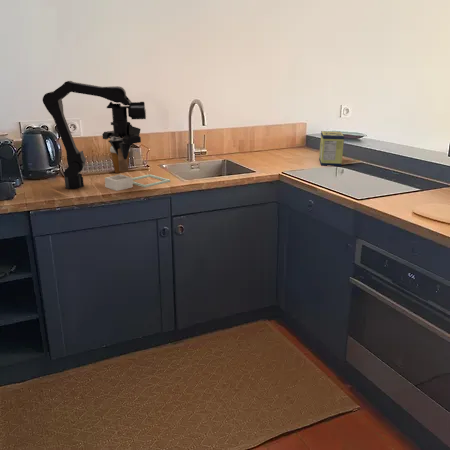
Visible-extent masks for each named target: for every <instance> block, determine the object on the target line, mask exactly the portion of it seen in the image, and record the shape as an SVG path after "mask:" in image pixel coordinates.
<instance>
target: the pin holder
mask: <svg viewBox="0 0 450 450" xmlns="http://www.w3.org/2000/svg"><path fill="white" fill-rule="evenodd" d="M132 178H133V177H131V176H129V175H128V176H127V175H124V174H122V173H119V174H116V175H111V176H107V177H104V186H105V188H107V189H109V190H112V191H116V192H118V191H122V190H123V191H124V190H127V189H131V188H133V185H134V184H133V181H134V180H133V181H132Z"/></svg>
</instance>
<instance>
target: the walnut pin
mask: <svg viewBox="0 0 450 450" xmlns="http://www.w3.org/2000/svg"><path fill="white" fill-rule="evenodd" d="M118 159H119V171H128V172H129V167H128V163H127V159H124V157H123V154H122V151H121V148H118Z"/></svg>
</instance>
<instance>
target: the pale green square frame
mask: <svg viewBox="0 0 450 450" xmlns="http://www.w3.org/2000/svg"><path fill="white" fill-rule="evenodd" d="M146 178H153V179H157V180H161V181H156V182H150V183H147V184H144V183H139V182H136V181H138V180H141V179H146ZM132 181H133V185H134V186H137V187H141V188H145V189H146V188H149V187H150V188H151V187H154V186H158V185H163V184H166V183H171V179H169V178H164V177H161V176H158V175H154V174H151V173H150V174H144V175H140V176H136V177H132Z"/></svg>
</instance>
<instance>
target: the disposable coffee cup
mask: <svg viewBox="0 0 450 450" xmlns="http://www.w3.org/2000/svg"><path fill="white" fill-rule="evenodd" d="M109 148H110V149H109V151H110V154H111V161H112V164H113V170H114V173H116V174H123V173H128V172H129V170H128V171H119V159H118V155H117V154H116V152H115V150H114V148H113V147H112V145H111V146H110V147H109ZM130 153H131V148H130V149H129V153H128V157H127V163H128V168H129V163H130Z"/></svg>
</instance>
